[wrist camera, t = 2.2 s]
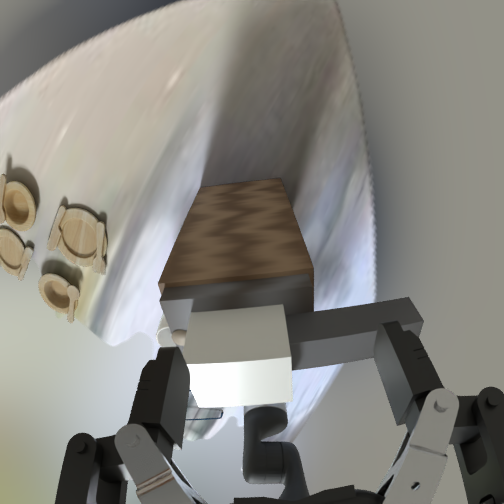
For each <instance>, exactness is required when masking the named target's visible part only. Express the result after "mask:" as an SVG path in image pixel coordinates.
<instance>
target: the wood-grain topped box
mask: <svg viewBox="0 0 504 504" xmlns="http://www.w3.org/2000/svg"><path fill="white" fill-rule="evenodd" d="M158 286H159V289H160V292H161V298H160V304H161V307H162V310H163V313H164V315H165V318H166V321H167V323H168V326H169V329H170V331H171V334H172V336H171V338H172V340H173V342H174V343H175V344H176V346H178V347H179V348H180V350H181V352H182V353H183V348H184V343H185V338H186V333H187V328H188V324H189V319H190V314H191V313H192V312H206V311H218V310H230V309H241V308H251V307H261V306H271V305H280V304H283V306H284V313H285V315H290V314H299V313H307V312H314V267H313V265H312V262H311V259H310V256H309V253H308V251H307V248H306V245H305V242H304V239H303V237H302V234H301V231H300V229H299V226H298V223H297V220H296V218H295V215H294V212H293V210H292V207H291V204H290V202H289V199H288V197H287V194H286V191H285V189H284V186H283V184H282V181H281V179H280V178H277V179H267V180H258V181H249V182H240V183H232V184H224V185H216V186H209V187H202V188H200V189H199V191H198V193H197V195H196V197H195V199H194V202H193V204H192V206H191V208H190V210H189V212H188V215H187V217H186V219H185V221H184V223H183V226H182V228H181V230H180V232H179V235H178V237H177V239H176V242H175V244H174V246H173V248H172V251H171V253H170V255H169V258H168V260H167V263H166V265H165V267H164V270H163V272H162V275H161V277H160V280H159V282H158Z"/></svg>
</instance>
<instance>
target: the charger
mask: <svg viewBox="0 0 504 504" xmlns="http://www.w3.org/2000/svg"><path fill="white" fill-rule="evenodd" d="M393 320H398V321H399V323H400V325H401V327H402V329H403V331H407V330H411V331H412V332H413V333H414V334H415V335H416V336H417V337H419V335H420V332H421V329H422V325H423V322H424V320H423V319H422V317H421V316H420V314H419V312H418V311H417V309H416V308H415V306H414V304H413V303H412V301H411V300H410V298H409V297H406V298H400V299H394V300H389V301H383V302H377V303H370V304H364V305H358V306H351V307H344V308H337V309H330V310H322V311H315V312H307V313H299V314H290V315H285V313H284V306H283V304H280V305H271V306H261V307H251V308H241V309H230V310H218V311H206V312H192V313H191V314H190V319H189V324H188V328H187V333H186V338H185V343H184V348H183V353H182V354H183V357H184V359H185V361H186V364H187V366H188V368H189V371H190V378H191V382H190V388H191V391H192V393H193V395H194V397H195V399H196V401H197V404H198V406H199V407H231V406H249V405H262V404H274V403H283V402H292V401H293V395H292V370H300V369H308V368H315V367H322V366H328V365H335V364H341V363H347V362H353V361H358V360H364V359H368V358H374V353H373V349H374V344H375V339H376V334H377V329H378V325H379V323H383V322H388V321H393Z"/></svg>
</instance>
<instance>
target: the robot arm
mask: <svg viewBox="0 0 504 504" xmlns="http://www.w3.org/2000/svg"><path fill="white" fill-rule="evenodd" d="M373 353H374V360H375V363H376V366H377V368H378V371H379V374H380V376H381V379H382V382H383V385H384V388H385V391H386V394H387V397H388V400H389V403H390V406H391V408H392V412H393V415H394V418H395V421H396V424H397V426H398V425H402V424H406V427H407V431H406V434H405V436H404V439H403V441H402V443H401V445H400V448H399V450H398V452H397V454H396V456H395V458H394V461H393V463H392V465H391V467H390V469H389V470H388V472H387V474H386V475H385V477H384V479H383V481H382V482H381V484H380V486H379V488H378V489H377V491H376V493H374V492H371V491H367V490H359V489H354V485H349V486H344V487H340V488H334V489H328V490H324V491H321V492H319V493H316V494H314V495H311V496H310V495H309V492H308V489H307V485H306V481H305V477H304V472H303V468H302V463H301V459H300V456H299V452H298V450H297V448H296V446H295V445H294V444H292V443H290V442H261V440H263V439H265V438H267V437H270V436H273V435H276V434H278V433H280V432H282V431H283V430H284V429H285V428H286V427H287V424H288V419H287V410H286V402H283V403H274V404H262V405H249V406H244V452H243V476H244V479H245V481H246V482H248V483H250V484H278V483H279V484H284V485H285V489H284V491H283V493H282V494H281V496H280V497H279V499H274V498H267V497H251V498H234V503H231V504H431V501H432V498H433V497H434V494H435V492H436V490H437V487H438V485H439V482H440V480H441V477H442V474H443V472H444V469H445V466H446V463H447V455H446V450H447V447H448V444H453V445H454V448H455V452H456V456H457V459H458V463H459V467H460V470H461V474H462V478H463V482H464V487H465V491H466V495H467V500H468V504H504V394H503V392H502V391H501V390H499V389H498V388H495V387H487V388H484V389H483V390H482V391H481V392H480V393H479V395H478V396H456V395H455V394H454V393H453V392H452V391H450V390H448V389H445V388H444V387H443V385H442V383H441V381H440V379H439V377H438V374H437V372H436V370H435V368H434V366H433V364H432V362H431V360H430V358H429V357H428V355H427V353H426V351H425V349H424V347H423V345H422V343H421V341H420V339H419V337H417V336H416V335H415V334H414V333H413V332H412V331H411V330H407V331H403V329H402V327H401V325H400V323H399V321H398V320H393V321H388V322H383V323H379V325H378V329H377V334H376V339H375V344H374V349H373ZM190 382H191V378H190V371H189V368H188V366H187V364H186V361H185V359H184V357H183V354H182V352H181V350H180V348H179V347H178V346H176V347H160V348H159V350H158V354H157V358H156V360H149V361H148V363H147V364H146V365H145V367H144V368H143V370H142V373H141V376H140V382H139V383H138V388H137V391H136V394H135V398H134V402H133V406H132V410H131V414H130V418H129V421H128V423H127V425H125V426H123V427H122V428H121V429H120V430H119V431H118V432H117V433H116V435H113V436H109V437H103V438H97V439H94V438H93V437H92V436H91V435H89V434H87V433H79V434H76V435H74V436H73V437H72V438H71V439H70V441H69V442H68V445H67V449H66V453H65V457H64V461H63V465H62V470H61V475H60V480H59V484H58V489H57V495H56V500H55V504H125V502H126V493H127V484H128V480H132V479H133V481H134V483H135V485H136V487H137V490H136V494H137V496H138V498H139V500H140V502H141V504H207V502H206V501H205V500H204V499H203V498H202V497H201V496H200V495H199V494H198V493H197V491H196V490H195V489H194V488H193V486H192V485H191V484H190V482H189V481H188V480H187V479H186V477H185V476H184V474H183V473H182V472H181V470H180V469H179V467H178V466H177V464H176V463H175V462H174V460H173V459H172V451H173V449H177V450H181V449H182V441H183V434H184V426H185V419H186V411H187V404H188V397H189V390H190Z"/></svg>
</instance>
